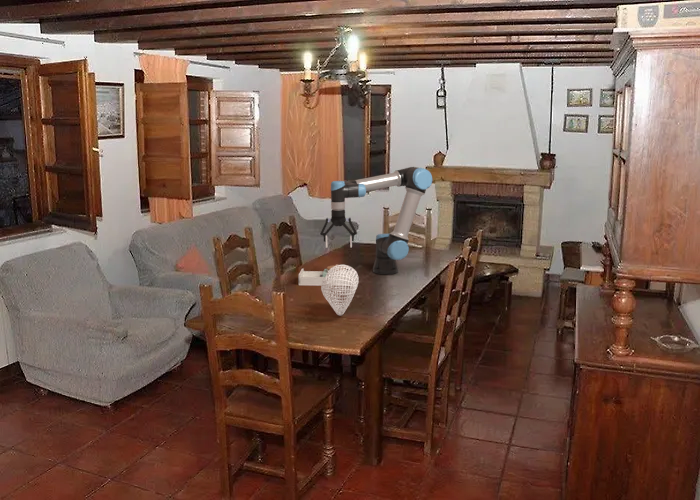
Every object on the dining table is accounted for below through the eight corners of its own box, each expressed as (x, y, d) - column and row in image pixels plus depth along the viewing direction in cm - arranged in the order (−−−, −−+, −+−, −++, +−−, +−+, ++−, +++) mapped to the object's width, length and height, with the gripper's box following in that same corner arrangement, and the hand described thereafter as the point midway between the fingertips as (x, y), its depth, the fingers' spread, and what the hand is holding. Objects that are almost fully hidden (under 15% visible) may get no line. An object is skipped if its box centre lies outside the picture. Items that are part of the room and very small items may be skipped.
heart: (328, 306, 316) (327, 261, 312) (359, 307, 315) (359, 262, 310) (319, 323, 289) (318, 275, 285) (353, 324, 287) (354, 276, 283)
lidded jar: (343, 283, 356) (343, 266, 354) (324, 282, 358) (324, 265, 357) (348, 279, 367) (348, 262, 365) (329, 278, 369) (329, 261, 367)
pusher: (328, 277, 369) (328, 268, 368) (326, 282, 357) (326, 273, 356) (321, 277, 369) (321, 268, 368) (319, 282, 357) (318, 273, 356)
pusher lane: (356, 279, 370) (356, 269, 369) (355, 286, 355) (355, 275, 354) (302, 278, 371) (302, 268, 370) (298, 285, 357) (298, 274, 355)
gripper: (361, 208, 360) (361, 245, 365) (316, 208, 361) (317, 246, 366) (360, 210, 353) (361, 248, 357) (314, 210, 354) (316, 248, 358)
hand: (338, 247), depth 362 cm, fingers open, 13 cm apart
